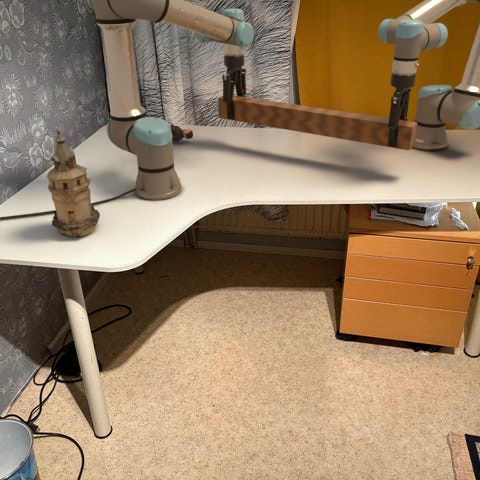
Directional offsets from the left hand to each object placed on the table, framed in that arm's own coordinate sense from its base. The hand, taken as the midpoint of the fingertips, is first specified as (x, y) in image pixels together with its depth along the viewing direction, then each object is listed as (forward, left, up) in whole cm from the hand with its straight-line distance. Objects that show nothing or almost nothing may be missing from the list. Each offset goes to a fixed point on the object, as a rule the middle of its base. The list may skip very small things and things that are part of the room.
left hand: (235, 116), depth 208 cm
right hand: (+51, -37, -1) cm, 63 cm away
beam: (+25, -18, -1) cm, 31 cm away
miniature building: (-51, -63, -13) cm, 82 cm away
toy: (-31, +12, -13) cm, 36 cm away
